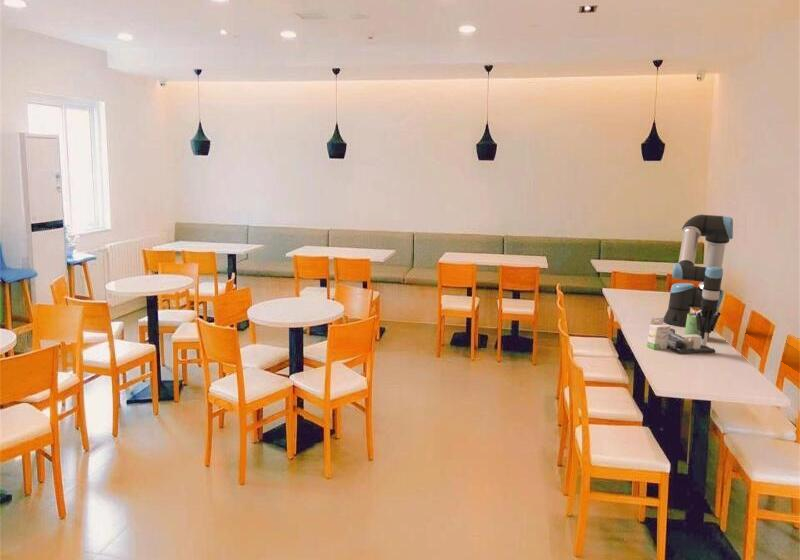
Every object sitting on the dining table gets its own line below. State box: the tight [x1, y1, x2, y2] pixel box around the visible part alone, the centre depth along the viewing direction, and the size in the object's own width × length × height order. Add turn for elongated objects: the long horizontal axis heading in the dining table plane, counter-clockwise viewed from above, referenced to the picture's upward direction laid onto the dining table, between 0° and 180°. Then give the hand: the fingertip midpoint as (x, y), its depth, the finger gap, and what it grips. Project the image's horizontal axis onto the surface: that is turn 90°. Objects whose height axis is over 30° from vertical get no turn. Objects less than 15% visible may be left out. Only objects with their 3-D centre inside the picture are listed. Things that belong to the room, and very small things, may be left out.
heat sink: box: [668, 337, 685, 346], centre depth 312 cm, size 8×8×3 cm
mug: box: [683, 312, 702, 336], centre depth 330 cm, size 13×10×12 cm
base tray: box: [666, 327, 716, 355], centre depth 313 cm, size 20×22×6 cm
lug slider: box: [681, 334, 702, 349], centre depth 305 cm, size 8×4×6 cm, turn 102°
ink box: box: [646, 317, 671, 350], centre depth 308 cm, size 9×5×15 cm, turn 113°
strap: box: [669, 331, 694, 344], centre depth 311 cm, size 3×19×1 cm, turn 12°
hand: (703, 344), depth 307 cm, fingers closed
